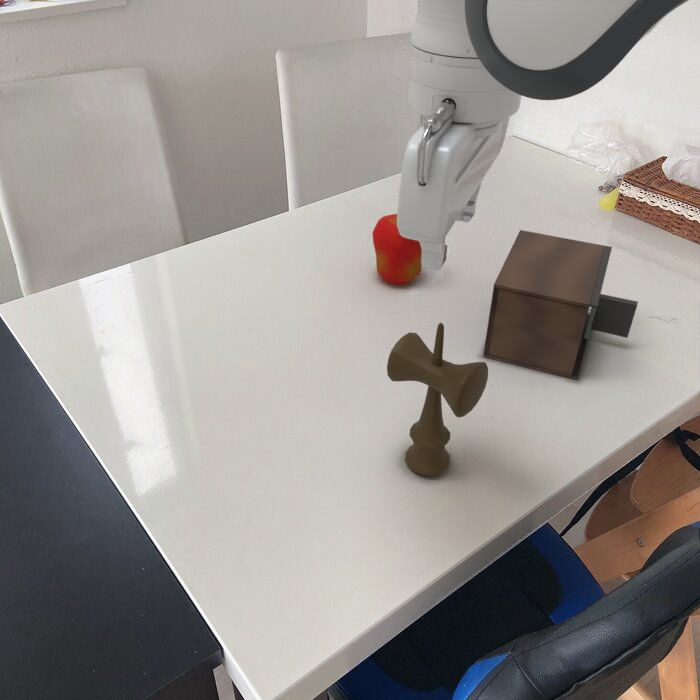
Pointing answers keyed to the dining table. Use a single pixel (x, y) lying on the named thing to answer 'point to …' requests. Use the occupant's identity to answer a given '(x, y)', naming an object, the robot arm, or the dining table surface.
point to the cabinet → (545, 303)
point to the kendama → (435, 396)
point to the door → (611, 316)
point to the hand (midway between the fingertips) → (449, 240)
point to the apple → (395, 253)
